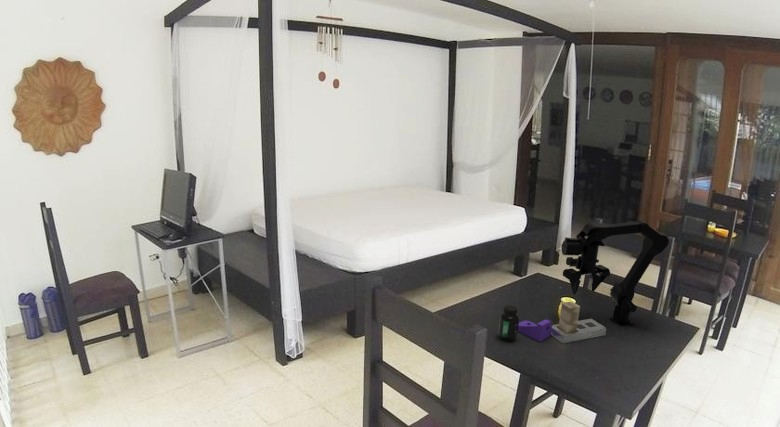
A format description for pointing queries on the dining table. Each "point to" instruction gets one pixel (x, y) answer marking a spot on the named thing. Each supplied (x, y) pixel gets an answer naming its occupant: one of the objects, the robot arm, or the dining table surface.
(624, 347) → the dining table surface
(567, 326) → the peg
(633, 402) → the dining table surface
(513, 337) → the supplement bottle
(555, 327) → the grey flat block
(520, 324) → the bracket
